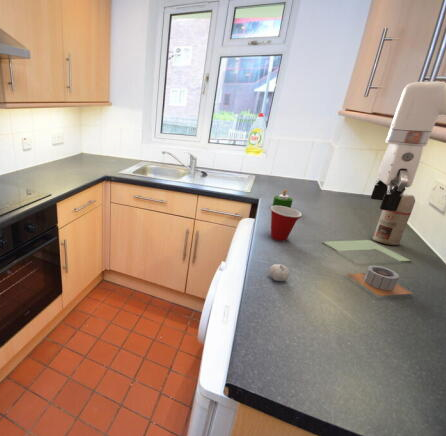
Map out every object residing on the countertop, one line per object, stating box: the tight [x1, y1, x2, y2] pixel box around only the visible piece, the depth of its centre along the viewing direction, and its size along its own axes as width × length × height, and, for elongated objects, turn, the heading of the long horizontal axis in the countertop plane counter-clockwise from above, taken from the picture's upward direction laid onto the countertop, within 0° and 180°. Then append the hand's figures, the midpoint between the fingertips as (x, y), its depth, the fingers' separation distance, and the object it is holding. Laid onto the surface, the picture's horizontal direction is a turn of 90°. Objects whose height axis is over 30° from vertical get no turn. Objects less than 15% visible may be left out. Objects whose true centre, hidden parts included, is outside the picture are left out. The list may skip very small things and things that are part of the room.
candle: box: [271, 189, 294, 208], centre depth 148 cm, size 8×8×10 cm
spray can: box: [372, 193, 416, 246], centre depth 113 cm, size 8×8×20 cm
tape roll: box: [363, 265, 400, 290], centre depth 87 cm, size 7×7×4 cm
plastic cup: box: [270, 205, 303, 242], centre depth 115 cm, size 11×11×12 cm
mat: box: [322, 239, 411, 263], centre depth 108 cm, size 20×16×1 cm
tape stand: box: [346, 271, 414, 297], centre depth 87 cm, size 11×11×4 cm
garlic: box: [269, 263, 291, 282], centre depth 89 cm, size 6×5×5 cm
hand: (382, 204), depth 78 cm, fingers open, 9 cm apart
